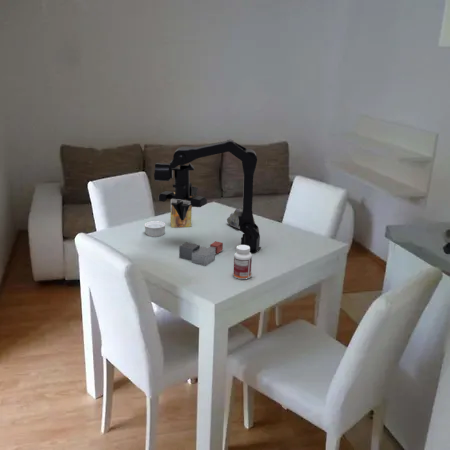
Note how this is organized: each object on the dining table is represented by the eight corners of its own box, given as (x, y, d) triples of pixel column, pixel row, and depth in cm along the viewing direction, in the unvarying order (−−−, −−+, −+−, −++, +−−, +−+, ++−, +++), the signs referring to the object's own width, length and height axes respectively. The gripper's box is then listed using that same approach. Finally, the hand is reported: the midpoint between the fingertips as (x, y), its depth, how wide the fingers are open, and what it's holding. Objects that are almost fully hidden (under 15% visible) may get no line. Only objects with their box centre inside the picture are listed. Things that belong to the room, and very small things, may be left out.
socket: (199, 256, 189) (199, 245, 187) (192, 261, 185) (193, 249, 183) (186, 253, 191) (186, 242, 190) (179, 257, 187) (179, 245, 186)
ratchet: (226, 251, 195) (226, 242, 193) (205, 266, 181) (206, 256, 180) (200, 245, 199) (201, 236, 198) (179, 259, 186) (179, 249, 185)
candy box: (189, 224, 224) (190, 191, 219) (191, 227, 220) (192, 193, 215) (170, 225, 222) (170, 191, 217) (171, 228, 218) (171, 194, 213)
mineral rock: (225, 223, 227) (226, 202, 223) (248, 222, 229) (249, 201, 226) (233, 233, 215) (234, 211, 212) (256, 231, 218) (258, 210, 214)
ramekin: (141, 236, 208) (141, 226, 206) (149, 229, 216) (149, 219, 215) (161, 238, 206) (161, 228, 204) (168, 231, 214) (168, 222, 213)
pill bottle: (241, 270, 178) (242, 242, 175) (254, 276, 174) (256, 247, 171) (229, 276, 174) (230, 246, 170) (242, 281, 170) (244, 252, 166)
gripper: (213, 179, 191) (213, 217, 197) (172, 173, 199) (173, 210, 205) (199, 186, 182) (199, 226, 187) (156, 179, 190) (158, 218, 195)
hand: (182, 220), depth 194 cm, fingers closed
